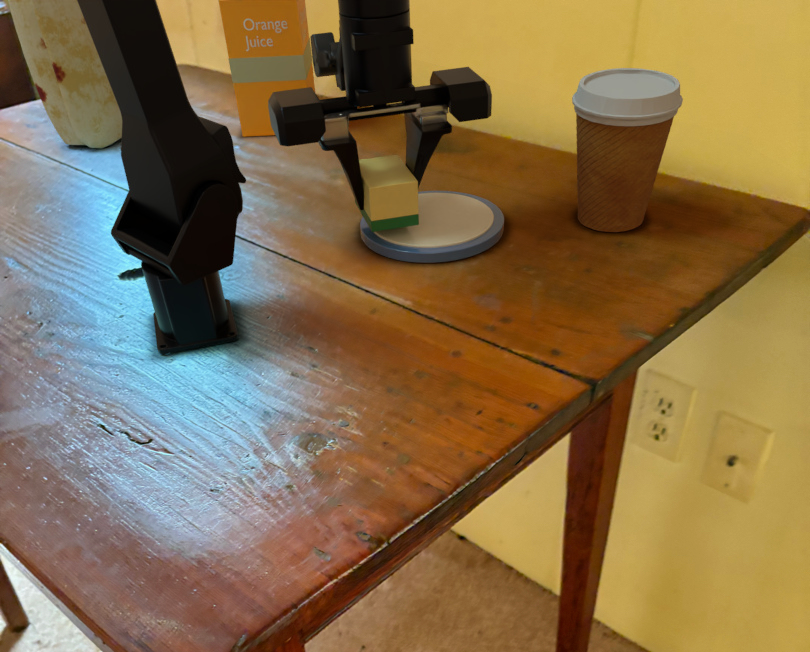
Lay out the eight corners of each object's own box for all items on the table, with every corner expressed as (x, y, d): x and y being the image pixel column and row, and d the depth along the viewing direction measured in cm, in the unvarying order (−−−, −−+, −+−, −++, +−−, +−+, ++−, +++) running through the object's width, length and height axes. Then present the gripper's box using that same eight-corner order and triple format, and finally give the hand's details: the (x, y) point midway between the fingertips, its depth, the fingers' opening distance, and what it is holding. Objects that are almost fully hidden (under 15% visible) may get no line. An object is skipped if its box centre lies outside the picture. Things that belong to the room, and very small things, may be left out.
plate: (525, 248, 75) (526, 235, 74) (380, 273, 73) (379, 261, 72) (476, 191, 84) (476, 180, 84) (346, 212, 82) (345, 200, 81)
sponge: (419, 225, 74) (418, 180, 71) (372, 232, 73) (368, 188, 71) (399, 196, 79) (397, 153, 76) (354, 203, 78) (351, 160, 75)
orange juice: (312, 133, 99) (288, -68, 85) (241, 137, 99) (206, -64, 85) (318, 112, 104) (296, -80, 90) (251, 115, 105) (219, -76, 90)
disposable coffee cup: (678, 214, 78) (706, 77, 70) (625, 249, 74) (648, 108, 65) (596, 190, 83) (612, 60, 75) (541, 222, 78) (551, 87, 70)
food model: (133, 128, 103) (81, -64, 89) (137, 145, 99) (83, -55, 85) (55, 139, 102) (-11, -55, 87) (55, 158, 97) (-14, -44, 83)
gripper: (453, -22, 71) (453, 160, 83) (245, 1, 68) (274, 187, 80) (497, 5, 64) (490, 202, 75) (264, 33, 61) (293, 233, 72)
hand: (385, 204), depth 75 cm, fingers closed on sponge, 4 cm apart
